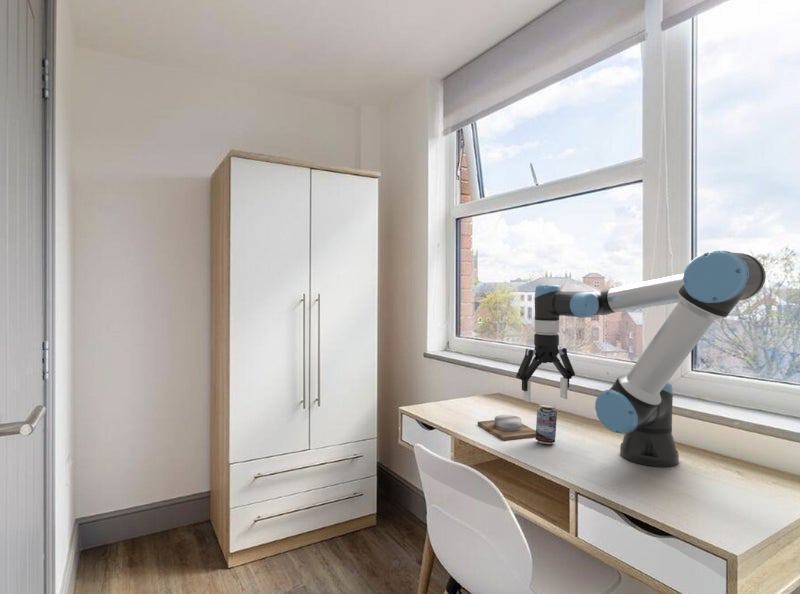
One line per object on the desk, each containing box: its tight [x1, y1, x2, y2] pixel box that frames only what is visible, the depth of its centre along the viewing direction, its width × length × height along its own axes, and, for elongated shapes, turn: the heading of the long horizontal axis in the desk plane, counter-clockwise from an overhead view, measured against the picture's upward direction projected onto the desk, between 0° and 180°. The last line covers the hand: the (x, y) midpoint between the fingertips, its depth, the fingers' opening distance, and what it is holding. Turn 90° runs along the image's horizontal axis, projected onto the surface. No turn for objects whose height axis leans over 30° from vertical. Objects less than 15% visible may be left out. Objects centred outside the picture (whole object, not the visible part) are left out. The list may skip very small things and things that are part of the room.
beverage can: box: [534, 404, 558, 445], centre depth 150 cm, size 6×7×12 cm
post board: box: [477, 414, 536, 442], centre depth 163 cm, size 18×14×4 cm
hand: (545, 399), depth 150 cm, fingers open, 13 cm apart
